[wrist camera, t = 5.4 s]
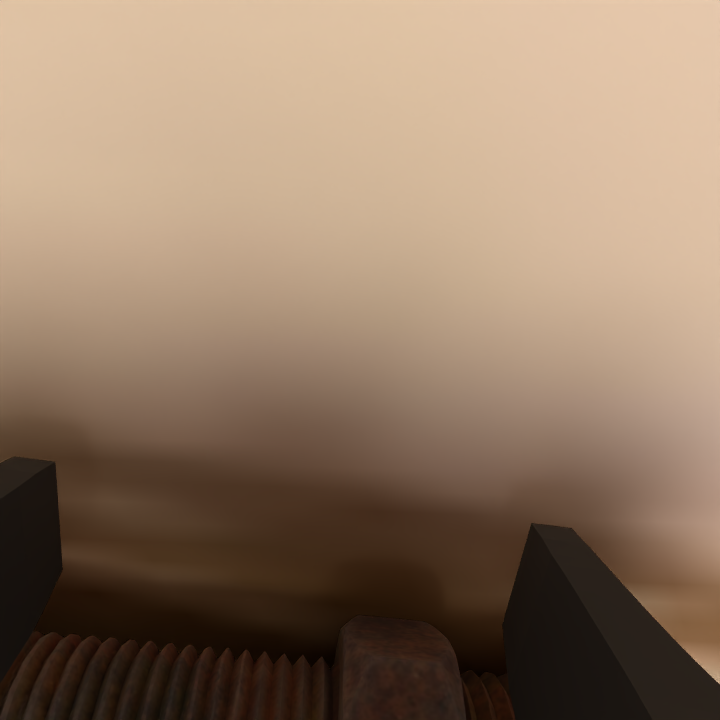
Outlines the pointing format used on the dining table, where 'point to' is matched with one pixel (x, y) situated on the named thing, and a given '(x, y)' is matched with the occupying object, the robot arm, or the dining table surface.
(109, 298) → the dining table surface
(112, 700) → the bolt
